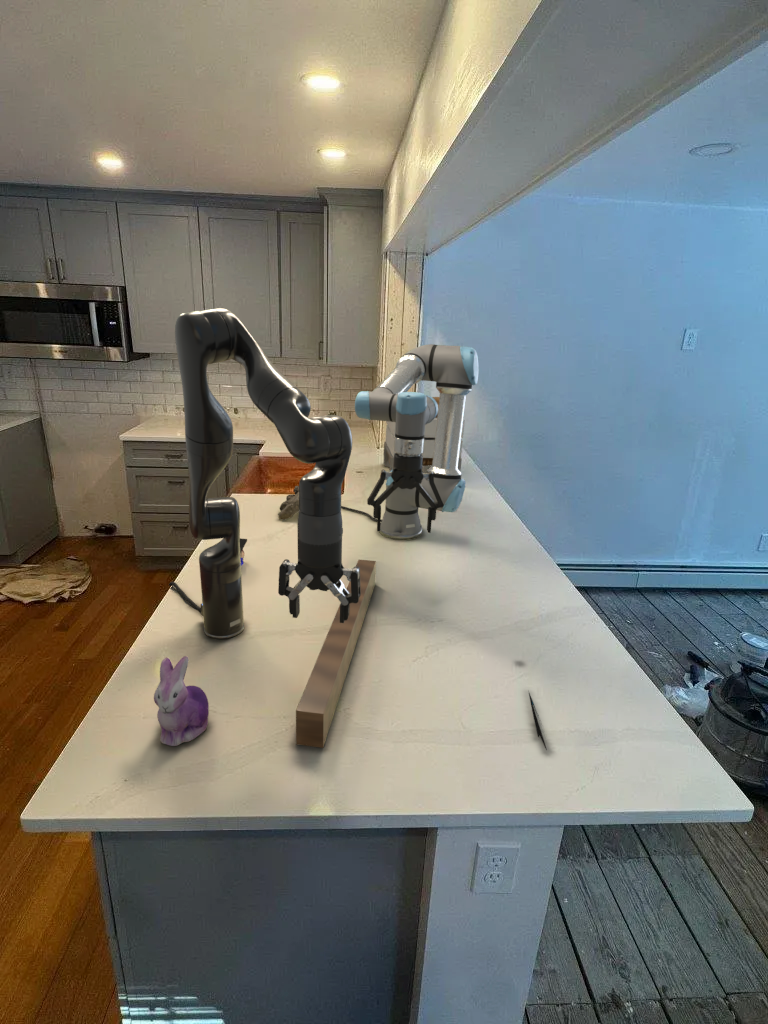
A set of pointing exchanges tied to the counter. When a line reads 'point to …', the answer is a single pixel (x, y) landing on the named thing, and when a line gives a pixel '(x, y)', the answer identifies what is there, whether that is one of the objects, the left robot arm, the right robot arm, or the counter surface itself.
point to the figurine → (179, 705)
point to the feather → (536, 721)
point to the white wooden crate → (427, 448)
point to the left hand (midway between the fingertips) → (319, 618)
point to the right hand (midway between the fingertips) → (403, 530)
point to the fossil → (290, 505)
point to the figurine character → (242, 544)
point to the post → (333, 666)
